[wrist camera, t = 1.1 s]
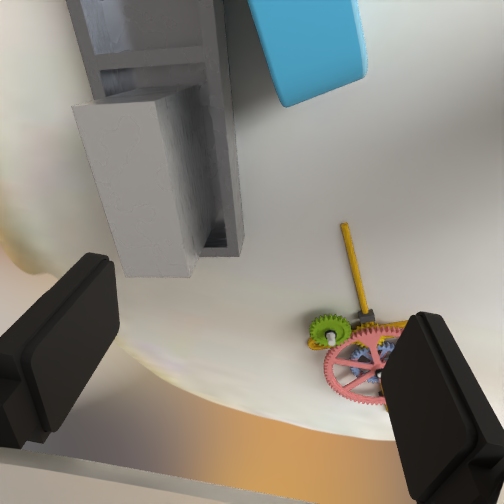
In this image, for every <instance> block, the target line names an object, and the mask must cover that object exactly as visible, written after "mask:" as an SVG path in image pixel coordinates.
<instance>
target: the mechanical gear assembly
mask: <svg viewBox="0 0 504 504" xmlns="http://www.w3.org/2000/svg"><path fill="white" fill-rule="evenodd" d="M341 228H342V232H343V236H344V240H345V244H346V248H347V252H348V256H349V260H350V264H351V268H352V272H353V276H354V280H355V285H356V289H357V293H358V297H359V301H360V305H361V309H362V311H359V312H358V314H359V318H360V322H361V323H362V324H361V327H359V326H357V329H354V330H351V326H350V325H349V321H346V318H343V319H342V317H341V316H339V317H337V315H336V314H335V315H334V316H332V315H331V314H330V315H329V316H327V315H326V314H325V315H324V317H322V316H320V319H318V318H315V321H312V325H310V328H309V333H310V337H311V338H309V340H308V346H309V348H310V349H312V350H320V349H327V348H330V349H331V350H328V353H327V354H326V355H327V356H325V360H324V374H325V377H326V380H327V383H329V386H331V388H333V389H334V391H336V393H339V395H343V397H346V399H349V398H350V400H353V399H354V402H356V401H358V403H360V402H362V404H364V403H365V402H366V403H367V404H369V403H371V405H373V404H374V403H375V404H376V405H378V403H380V405H382V404H383V403H384V404H385V406H386V410H387V412H388V409H387V405H386V401H385V397H384V393H383V389H382V385H381V379H380V378H381V372H382V370H383V368H384V366H385V364H386V362H387V360H388V359H384V357H385V356H386V354H387V352H388V351H391V352H392V351H393V349H394V347H395V346H394V344H393V343H391V344H390V345H389V342H387V343H385V344H384V341H385V340H384V339H388V338H394V337H400V335H401V333H402V331H403V330H404V327H405V326H406V324H407V322H408V320H407V321H401V322H395V323H389V324H383V325H378V323H376V324H374V321H375V317H374V313H373V310H372V309H370V310H368V307H367V303H366V299H365V295H364V290H363V286H362V282H361V278H360V274H359V269H358V265H357V261H356V257H355V252H354V248H353V244H352V240H351V235H350V231H349V227H348V223H343V224H341ZM400 328H402V329H401V330H400ZM313 343H318V344H313ZM351 344H357V345H359V344H360V345H361V347H360V346H359V349H355V352H352V353H353V355H350V356H351V358H349V359H350V360H346V359H340V358H336V356H337V355H338V354H339V353H340V352H341V350H342V349H344V348H345V347H347V346H348V345H351ZM378 350H381V352H380V354H378ZM369 351H371V354H370V353H369ZM362 355H364V356H365V357H366V358H368V359H369V360H370V362H358V359H359V358H360V357H361V356H362ZM334 363H335V364H340V365H346V366H350V369H351V371H352V373H353V374H354V375H356V377H357V379H355V380H354V381H352V382H351V383H349V384H347V385H346V386H344V387H342V386H341V385H340V384H339V383H338V382H337V380H336V379H335V377H334V375H333V369H332V367H333V364H334ZM359 368H363V369H368V370H370V371H368V372H367V373H364V372H362V371H361V370H360V369H359ZM358 377H359V378H358ZM366 380H367V381H368V382H370V381H372V383H374V382H375V381H377V383H379V382H380V386H381V390H382V392H379V396H380V397H370V396H363V395H359V394H355V393H353V392H351V391H349V390H351V389H353V388H354V387H356V386H358V385H359V384H361V383H362V382H364V381H366Z"/></svg>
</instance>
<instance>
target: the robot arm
mask: <svg viewBox="0 0 504 504" xmlns="http://www.w3.org/2000/svg"><path fill="white" fill-rule="evenodd" d="M119 326H120V321H119V310H118V300H117V289H116V278H115V268H114V263H113V262H112V261H109V258H108V256H106V255H101V254H95V253H90V252H89V253H86V254H85V255H84V256H83V257H82V258H81V259H80V260H79V261H78V262H77V263H76V264H75V265H74V266H73V267H72V268H71V269H70V270H69V271H68V272H67V273H66V274H65V275H64V276H63V277H62V278H61V279H60V280H59V281H58V282H57V283H56V284H55V285H54V286H53V287H52V288H51V289H50V290H48V291H47V292H46V293H45V294H43V295H42V297H40V298H39V299H38V300H37V301H36V302H35V303H34V304H33V305H32V306H31V307H30V308H29V309H28V310H27V311H26V312H25V313H24V314H23V315H22V316H21V317H20V318H19V319H18V320H17V321H16V322H15V323H14V324H13V325H12V326H11V327H10V328H9V329H8V330H7V331H6V332H5V333H4V334H3V335H2V336H1V337H0V504H316V503H312V502H307V501H302V500H297V499H291V498H286V497H281V496H275V495H270V494H265V493H259V492H254V491H249V490H244V489H239V488H233V487H228V486H223V485H217V484H212V483H207V482H201V481H196V480H191V479H185V478H180V477H175V476H169V475H163V474H158V473H153V472H147V471H142V470H136V469H131V468H126V467H120V466H114V465H109V464H104V463H98V462H93V461H87V460H82V459H76V458H70V457H64V456H58V455H51V454H46V453H39V452H33V451H27V450H21V448H22V447H23V445H24V444H25V442H26V441H32V442H37V443H42V444H43V443H44V442H45V440H46V439H47V437H48V436H49V434H50V433H51V432H56V431H57V430H58V429H59V427H60V426H61V425H62V423H63V421H64V420H65V418H66V417H67V415H68V413H69V412H70V410H71V408H72V407H73V405H74V404H75V402H76V400H77V398H78V397H79V395H80V394H81V392H82V391H83V389H84V387H85V386H86V384H87V382H88V381H89V379H90V378H91V376H92V374H93V373H94V371H95V369H96V368H97V366H98V364H99V363H100V361H101V359H102V358H103V356H104V355H105V353H106V351H107V350H108V348H109V346H110V345H111V343H112V342H113V340H114V339H115V337H116V335H117V333H118V331H119ZM380 379H381V385H382V389H383V393H384V397H385V401H386V405H387V409H388V413H389V417H390V421H391V424H392V428H393V432H394V436H395V440H396V444H397V448H398V451H399V456H400V459H401V463H402V467H403V471H404V475H405V479H406V483H407V486H408V491H409V494H410V496H411V498H412V499H413V500H416V502H417V504H504V429H503V427H502V426H501V424H500V422H499V420H498V418H497V416H496V415H495V413H494V411H493V409H492V407H491V406H490V404H489V402H488V400H487V398H486V396H485V395H484V393H483V391H482V389H481V387H480V385H479V384H478V382H477V380H476V378H475V376H474V374H473V373H472V371H471V369H470V367H469V365H468V363H467V362H466V360H465V358H464V356H463V354H462V352H461V351H460V349H459V347H458V345H457V343H456V341H455V340H454V338H453V336H452V334H451V332H450V330H449V329H448V327H447V325H446V323H445V321H444V319H443V318H442V316H440V315H438V314H433V313H427V312H418V313H417V314H416V315H412V316H411V317H410V318H409V320H408V322H407V324H406V326H405V328H404V330H403V331H402V333H401V335H400V337H399V339H398V341H397V343H396V345H395V347H394V349H393V351H392V352H391V354H390V356H389V358H388V360H387V362H386V364H385V366H384V368H383V370H382V372H381V378H380Z"/></svg>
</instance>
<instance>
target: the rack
mask: <svg viewBox="0 0 504 504" xmlns="http://www.w3.org/2000/svg"><path fill="white" fill-rule="evenodd" d="M66 2H67V5H68V9H69V12H70V16H71V20H72V23H73V27H74V30H75V34H76V37H77V41H78V44H79V48H80V51H81V55H82V58H83V62H84V65H85V69H86V72H87V76H88V80H89V83H90V87H91V90H92V94H93V97H94V100H93V101H89V102H85V103H82V104H78V105H74V106H71V107H72V110H73V113H74V116H75V120H76V123H77V126H78V129H79V132H80V135H81V138H82V142H83V145H84V148H85V151H86V154H87V157H88V160H89V164H90V167H91V170H92V173H93V176H94V179H95V182H96V186H97V189H98V192H99V195H100V198H101V201H102V204H103V208H104V211H105V214H106V217H107V220H108V223H109V226H110V230H111V233H112V236H113V239H114V242H115V245H116V248H117V252H118V255H119V258H120V261H121V264H122V267H123V270H124V274H125V277H179V278H190V276H191V273H192V271H193V269H194V267H195V265H196V262H197V260H198V258H199V257H239V256H240V252H241V248H242V244H243V241H244V227H243V216H242V205H241V194H240V183H239V172H238V161H237V150H236V139H235V128H234V117H233V106H232V95H231V84H230V73H229V62H228V51H227V40H226V29H225V17H224V6H223V0H66Z"/></svg>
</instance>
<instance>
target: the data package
mask: <svg viewBox="0 0 504 504" xmlns="http://www.w3.org/2000/svg"><path fill="white" fill-rule="evenodd" d="M247 1H248V4H249V7H250V11H251V14H252V17H253V20H254V23H255V26H256V30H257V33H258V36H259V39H260V42H261V45H262V49H263V52H264V55H265V58H266V61H267V64H268V68H269V71H270V74H271V77H272V80H273V83H274V86H275V89H276V92H277V95H278V97H279V100H280V102H281V104H282V105H283V106H284V107H290V106H293V105H295V104H298V103H300V102H303V101H305V100H308V99H311V98H313V97H316V96H318V95H321V94H323V93H326V92H329V91H331V90H334V89H336V88H339V87H341V86H344V85H347V84H349V83H352V82H354V81H357V80H359V79H362V78H363V77H364V76H365V75H366V73H367V52H366V45H365V40H364V34H363V29H362V24H361V18H360V13H359V8H358V2H357V0H247Z"/></svg>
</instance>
